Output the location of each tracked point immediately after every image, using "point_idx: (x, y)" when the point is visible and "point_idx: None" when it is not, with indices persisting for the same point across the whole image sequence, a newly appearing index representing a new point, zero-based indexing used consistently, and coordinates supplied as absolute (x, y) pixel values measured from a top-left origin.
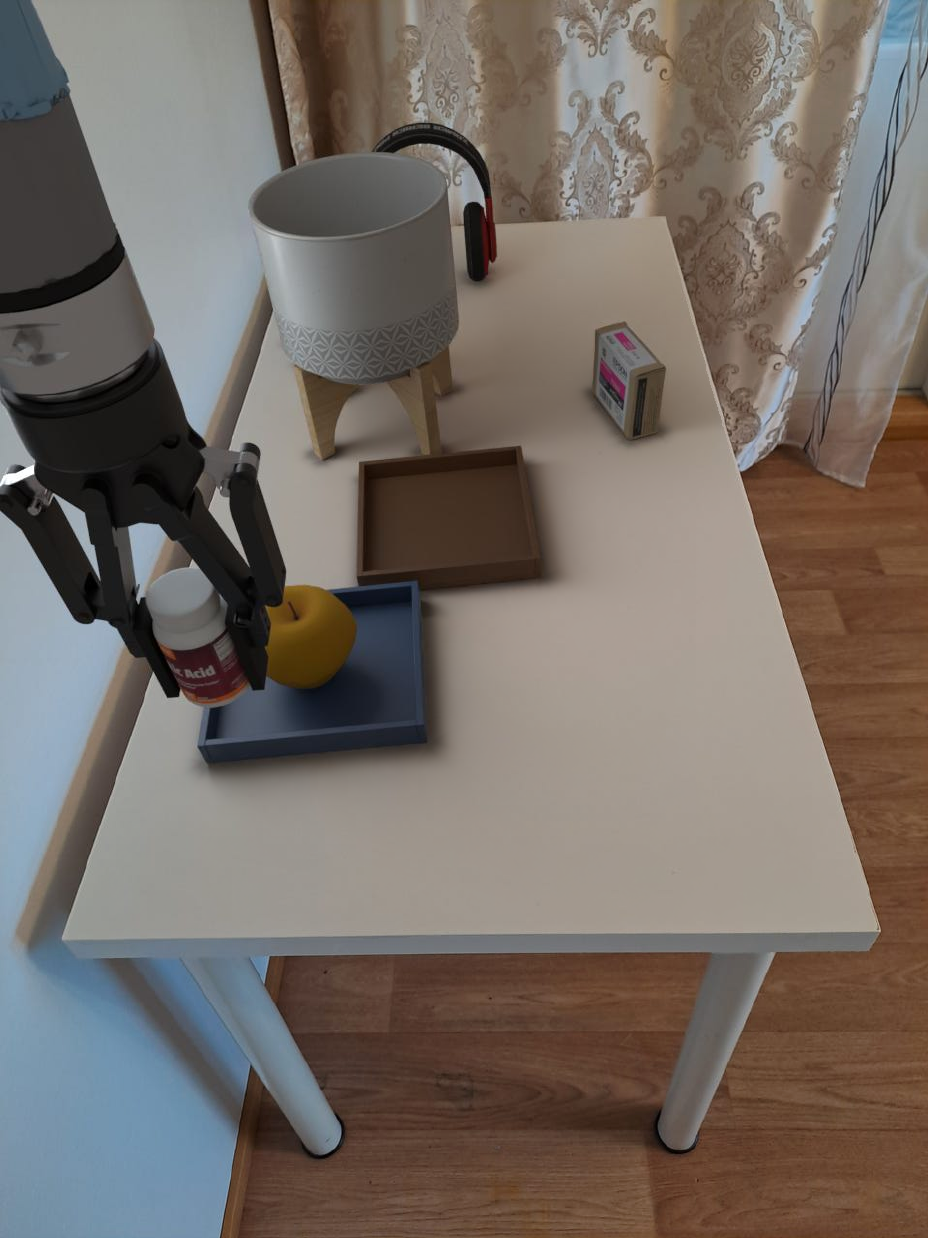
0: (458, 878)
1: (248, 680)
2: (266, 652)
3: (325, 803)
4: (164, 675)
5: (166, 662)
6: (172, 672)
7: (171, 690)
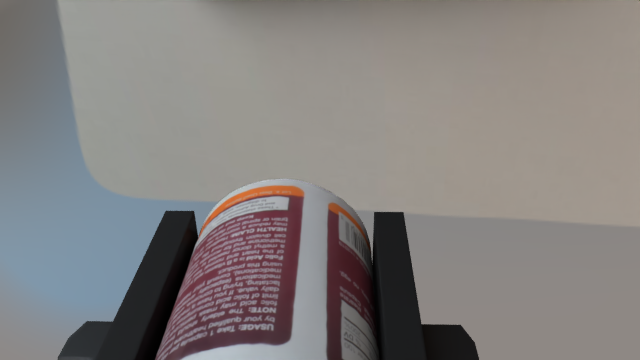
0: (555, 169)
1: None
2: (404, 223)
3: (384, 49)
4: None
5: None
6: None
7: None
